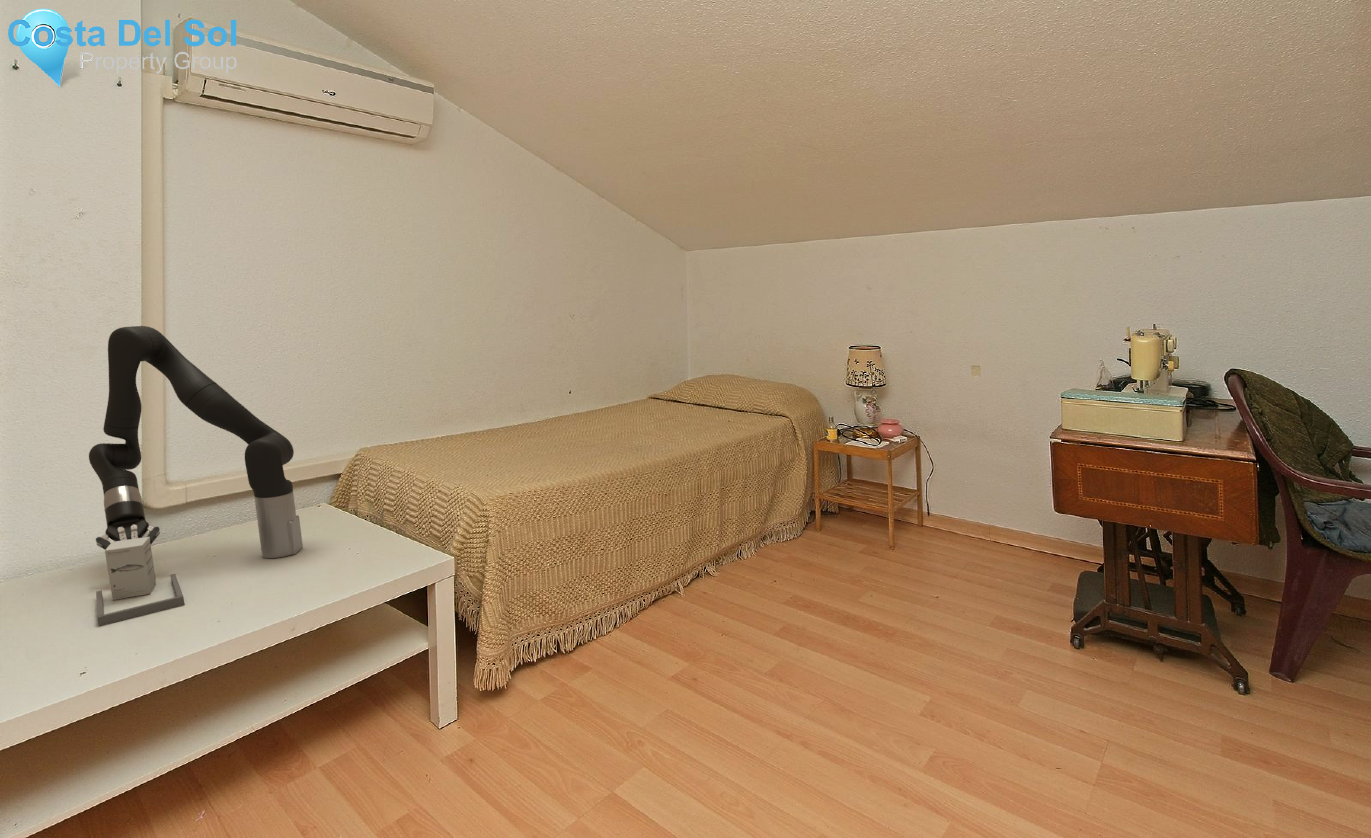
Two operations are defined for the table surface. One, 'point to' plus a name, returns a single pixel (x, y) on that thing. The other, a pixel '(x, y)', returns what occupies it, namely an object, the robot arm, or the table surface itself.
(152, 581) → the supplement box
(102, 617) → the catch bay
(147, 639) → the table surface
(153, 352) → the robot arm
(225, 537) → the table surface
